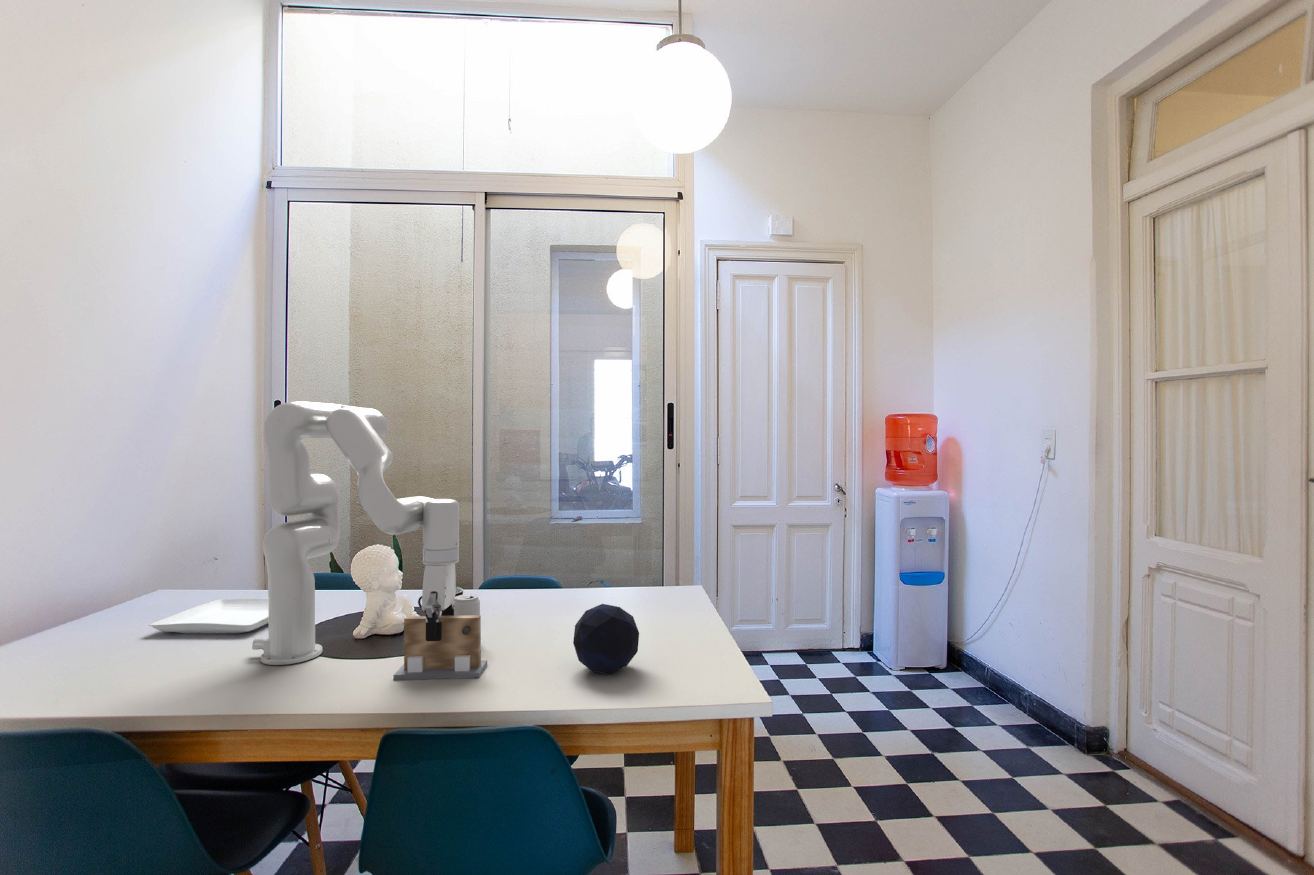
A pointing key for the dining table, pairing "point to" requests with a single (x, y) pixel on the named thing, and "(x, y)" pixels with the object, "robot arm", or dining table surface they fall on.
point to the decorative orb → (606, 639)
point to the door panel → (444, 641)
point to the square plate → (218, 617)
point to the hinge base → (460, 670)
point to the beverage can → (466, 605)
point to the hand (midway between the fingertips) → (440, 633)
